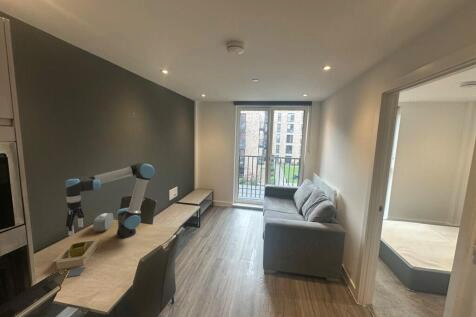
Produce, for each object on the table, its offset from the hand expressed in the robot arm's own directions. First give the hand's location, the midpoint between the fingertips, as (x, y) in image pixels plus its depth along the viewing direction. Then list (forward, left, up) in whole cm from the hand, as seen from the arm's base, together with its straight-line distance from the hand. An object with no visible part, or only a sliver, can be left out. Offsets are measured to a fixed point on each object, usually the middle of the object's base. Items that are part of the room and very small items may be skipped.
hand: (76, 230), depth 141 cm
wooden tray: (0, 0, -20) cm, 20 cm away
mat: (-5, +19, -20) cm, 28 cm away
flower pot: (0, 0, -20) cm, 20 cm away
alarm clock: (-1, -48, -20) cm, 52 cm away
